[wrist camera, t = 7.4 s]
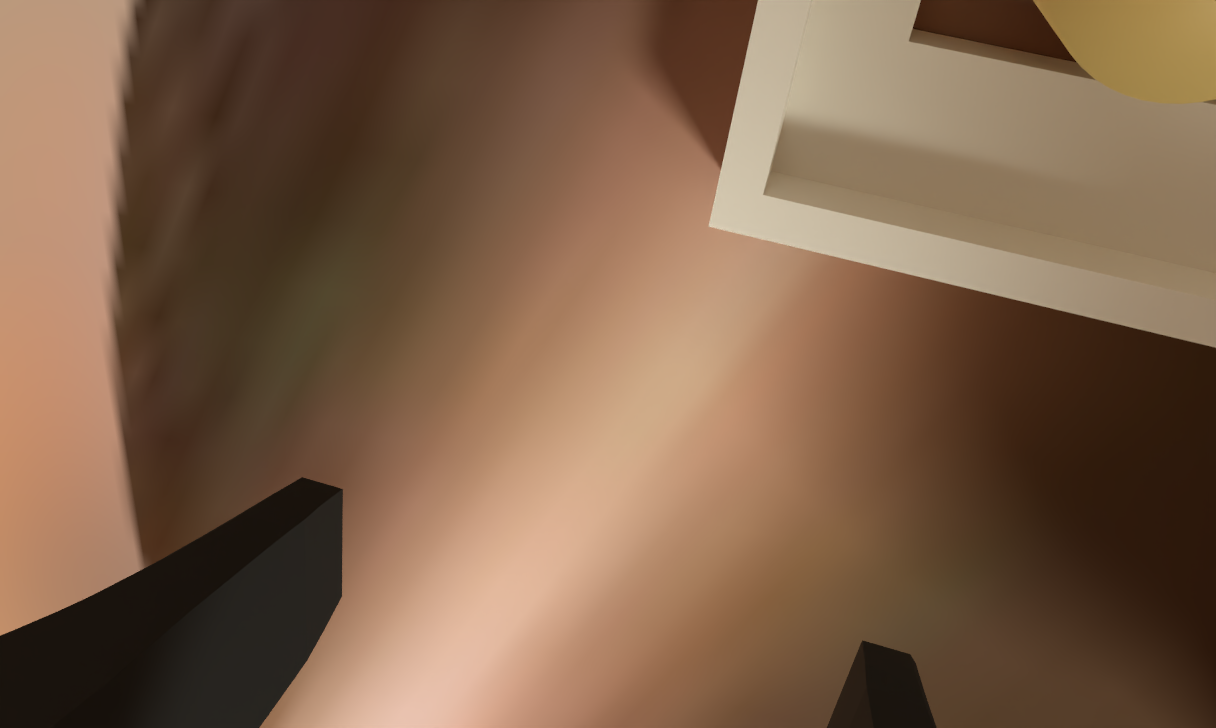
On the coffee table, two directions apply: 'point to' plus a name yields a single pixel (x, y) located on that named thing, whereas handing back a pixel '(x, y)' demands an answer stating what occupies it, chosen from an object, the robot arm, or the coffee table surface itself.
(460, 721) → the coffee table surface
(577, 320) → the coffee table surface
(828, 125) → the bore box
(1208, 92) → the peg
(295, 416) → the coffee table surface
